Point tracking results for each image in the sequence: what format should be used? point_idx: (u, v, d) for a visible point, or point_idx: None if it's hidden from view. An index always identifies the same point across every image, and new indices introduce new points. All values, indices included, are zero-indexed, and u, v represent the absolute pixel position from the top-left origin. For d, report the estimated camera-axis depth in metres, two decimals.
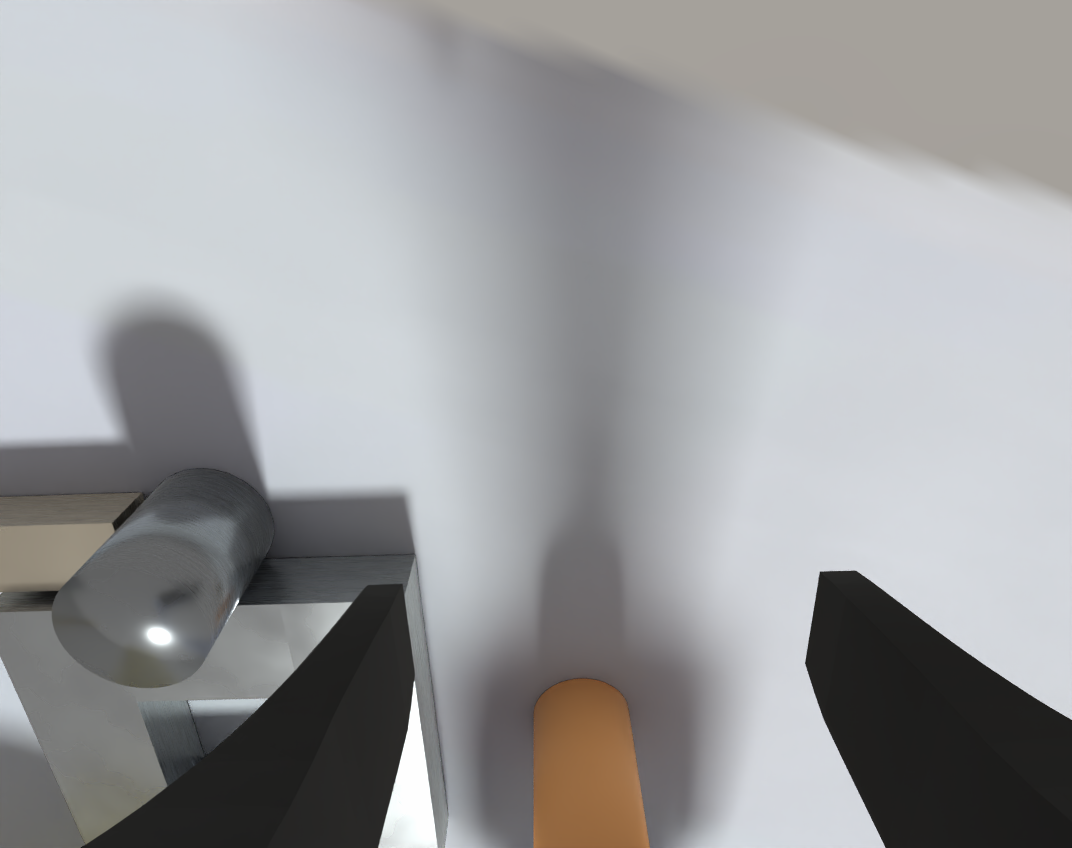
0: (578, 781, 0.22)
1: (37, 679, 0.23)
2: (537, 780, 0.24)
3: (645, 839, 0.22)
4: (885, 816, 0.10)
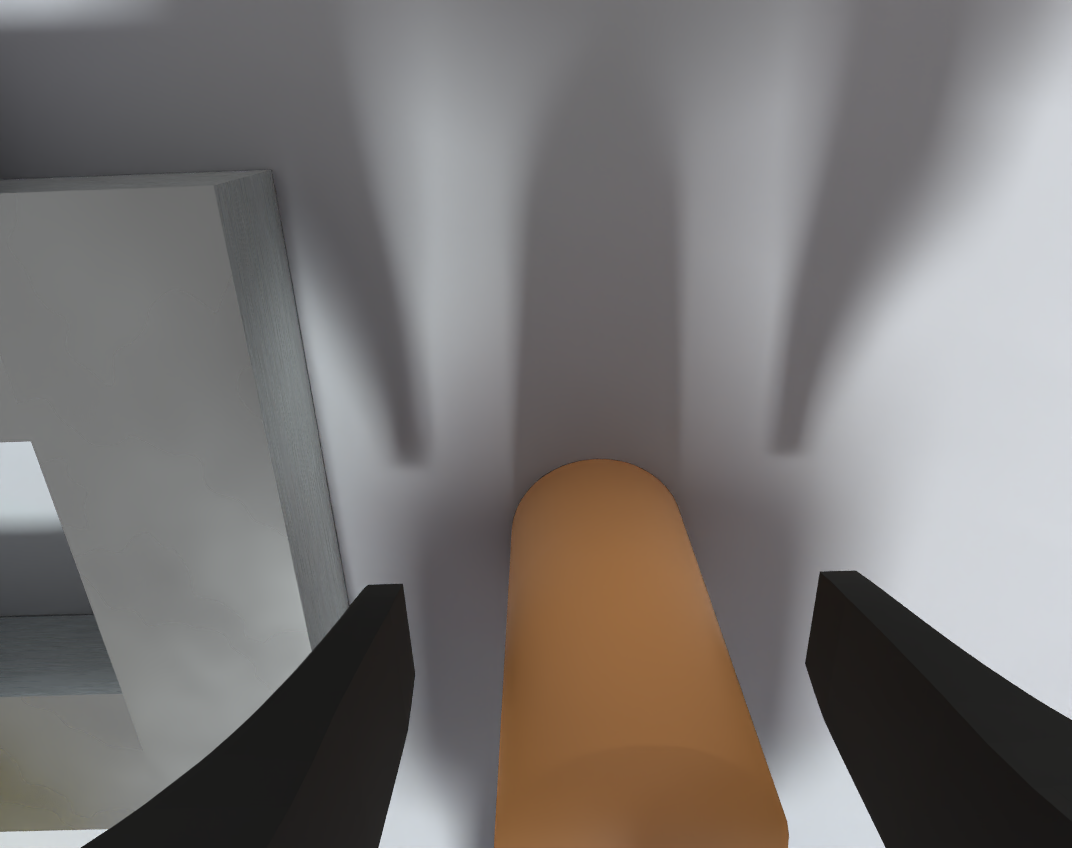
0: (597, 594, 0.11)
1: None
2: (512, 614, 0.12)
3: (747, 710, 0.10)
4: (885, 816, 0.10)
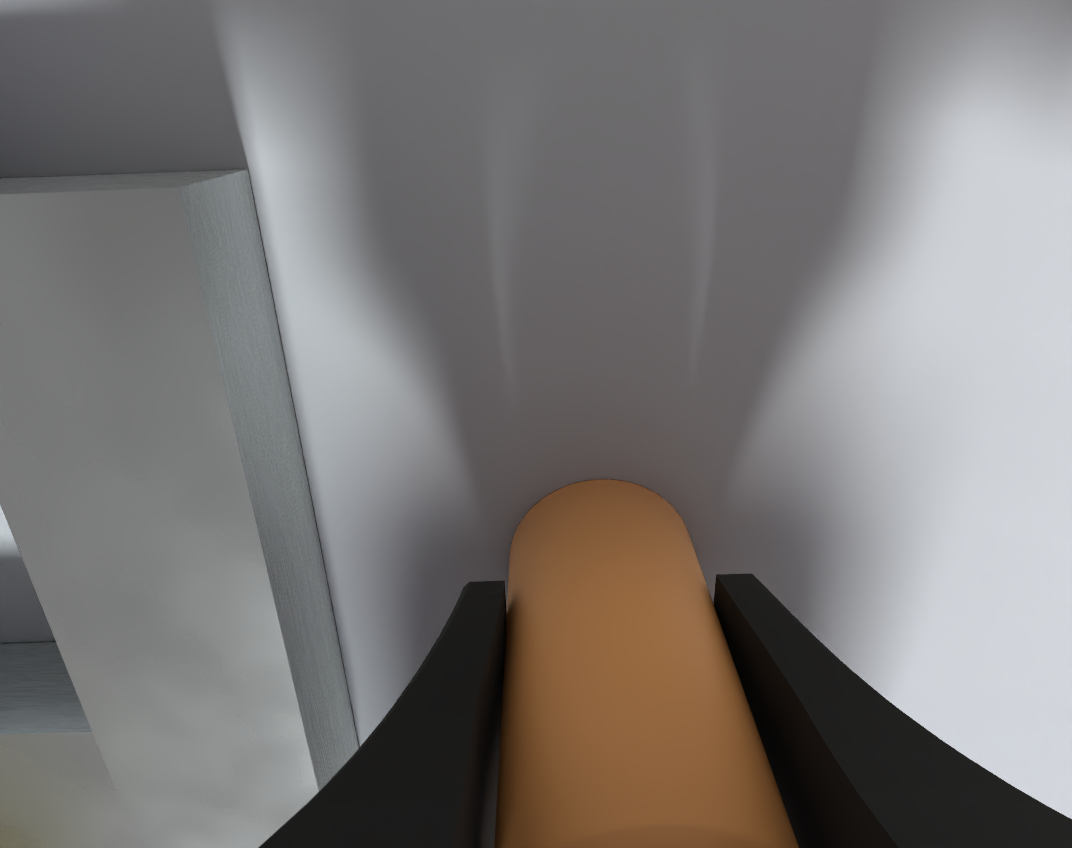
0: (603, 638, 0.10)
1: None
2: (510, 654, 0.11)
3: (770, 770, 0.09)
4: None
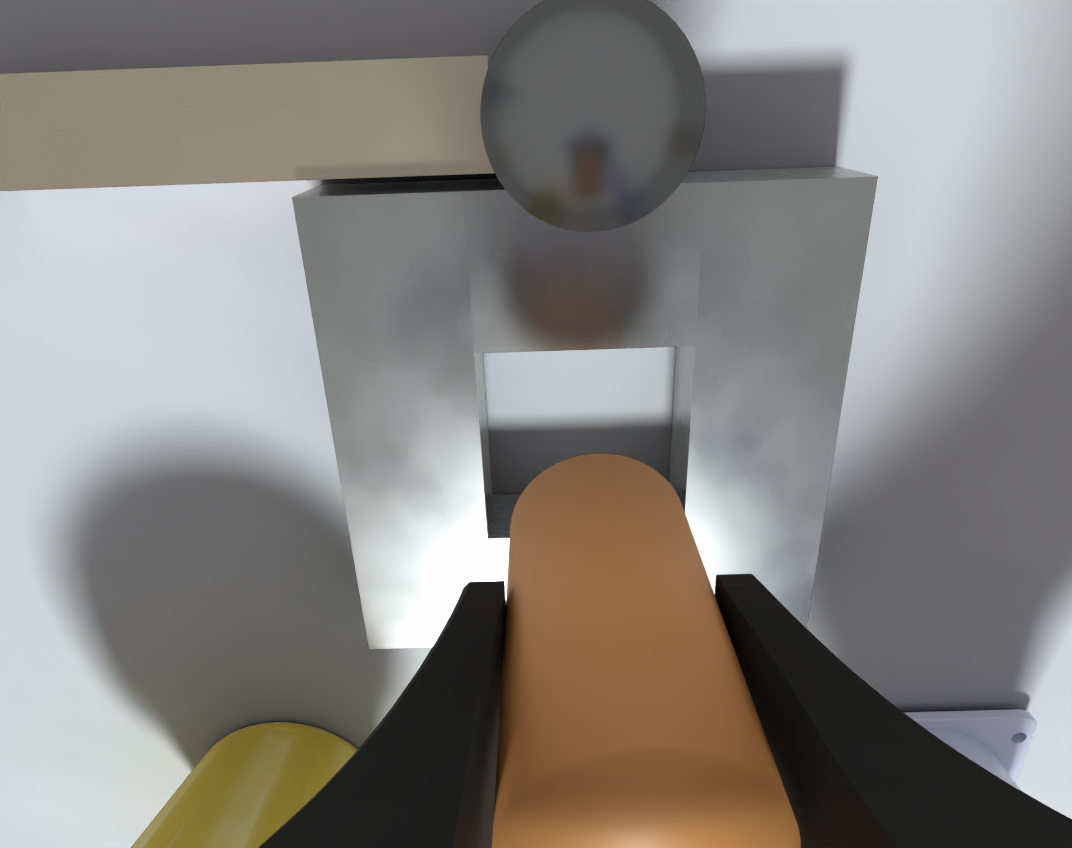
0: (596, 593, 0.10)
1: (348, 314, 0.17)
2: (510, 614, 0.11)
3: (755, 710, 0.09)
4: None
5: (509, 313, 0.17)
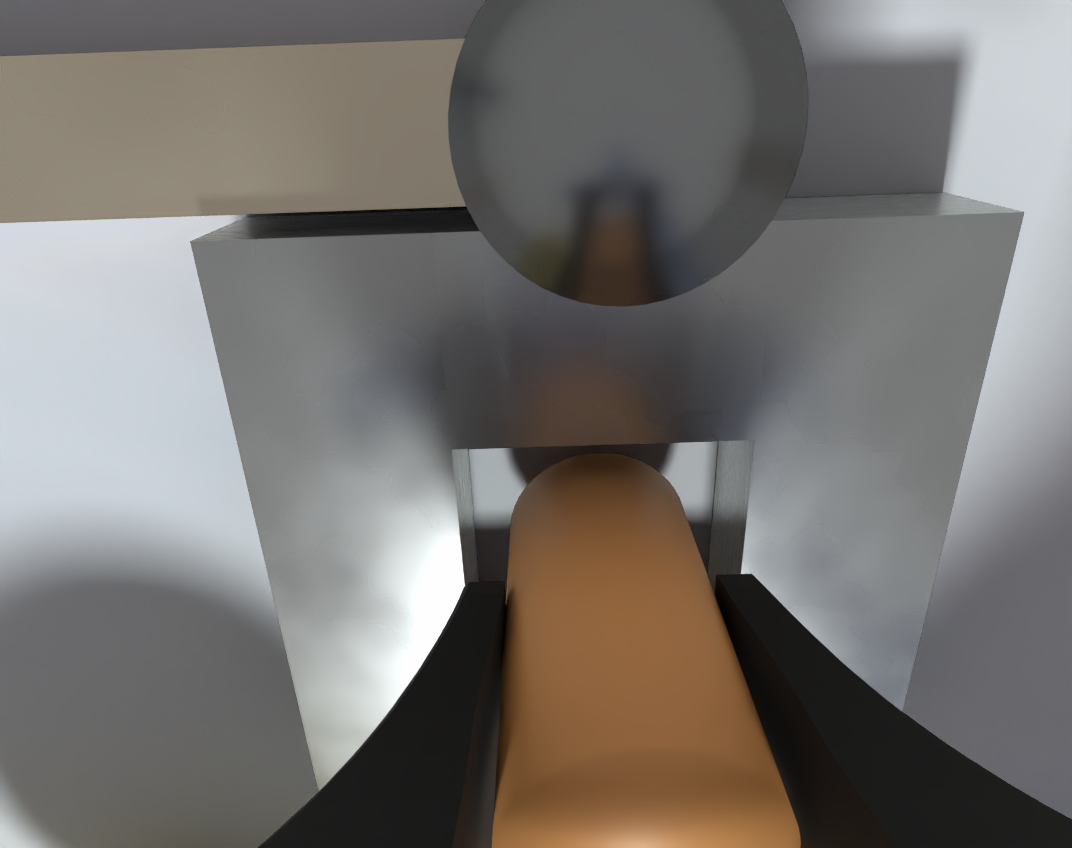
0: (596, 592, 0.10)
1: (277, 398, 0.12)
2: (510, 614, 0.11)
3: (755, 709, 0.09)
4: None
5: (499, 397, 0.12)
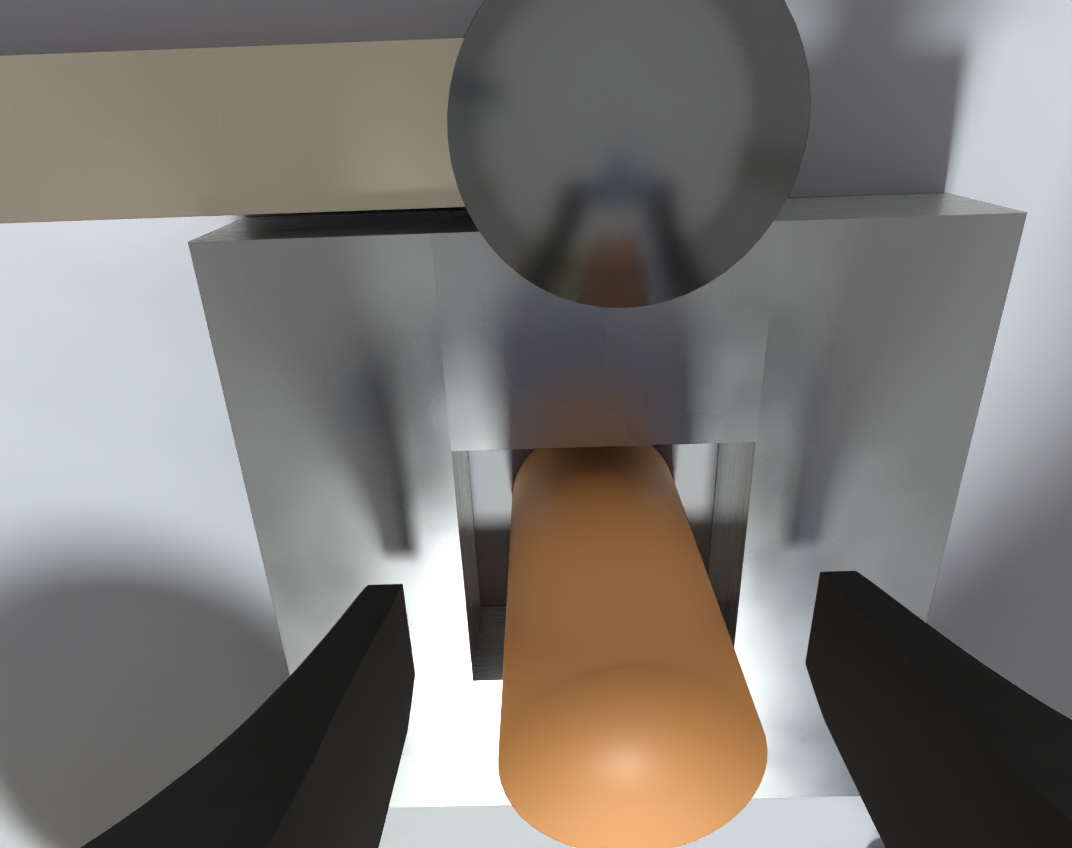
0: (591, 541, 0.11)
1: (275, 400, 0.12)
2: (513, 565, 0.13)
3: (730, 641, 0.11)
4: (885, 816, 0.10)
5: (498, 399, 0.12)
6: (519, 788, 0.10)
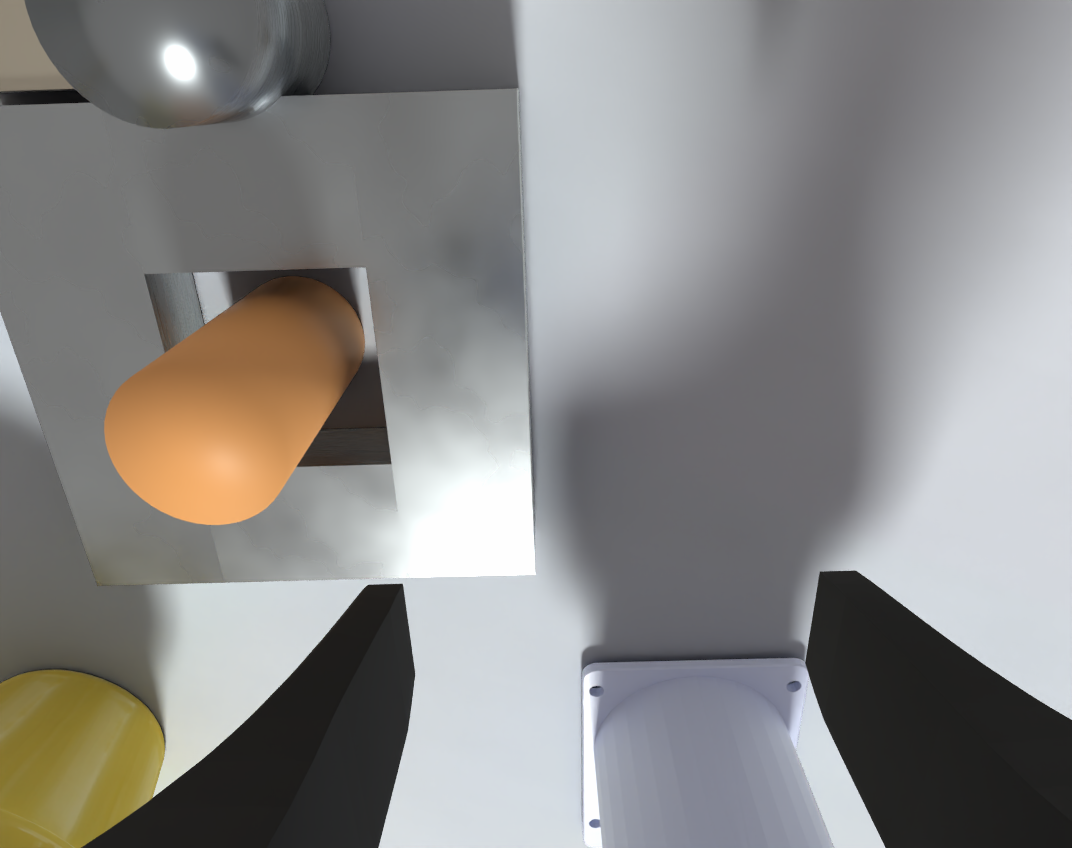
0: (215, 323, 0.16)
1: (8, 232, 0.17)
2: None
3: (292, 382, 0.15)
4: (885, 816, 0.10)
5: (171, 232, 0.17)
6: (126, 467, 0.14)
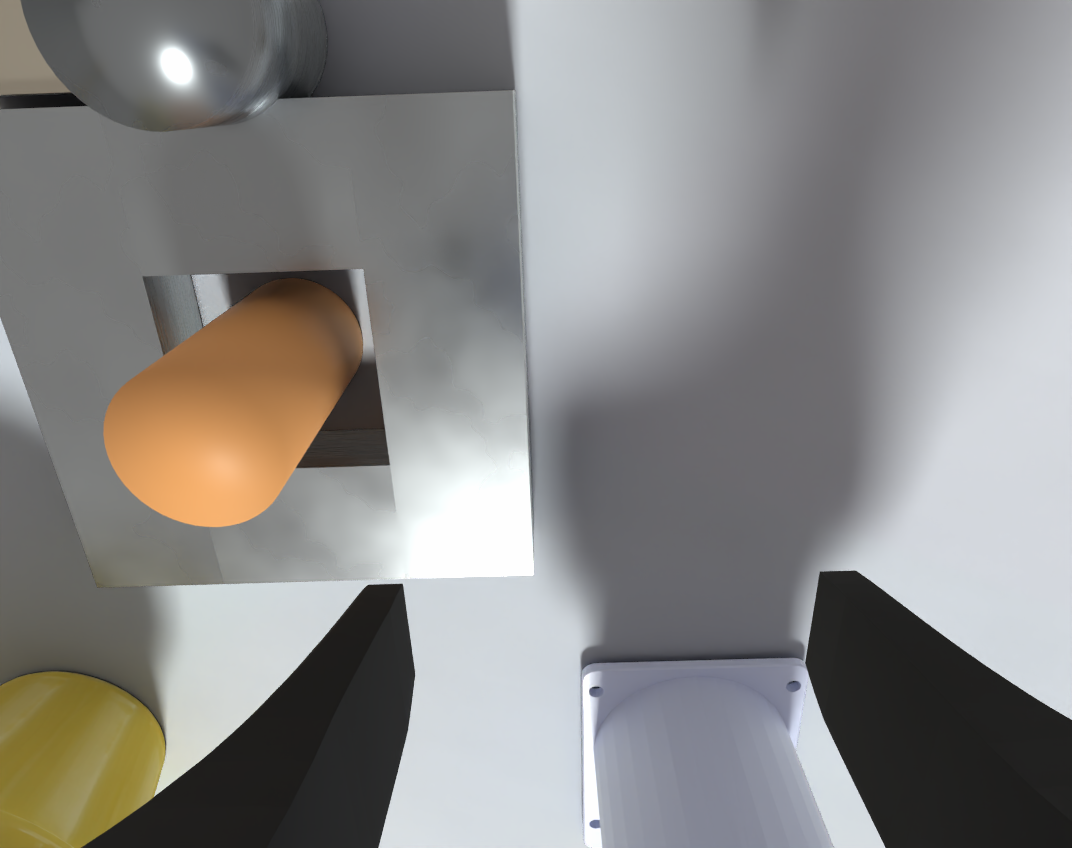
0: (214, 325, 0.16)
1: (7, 235, 0.17)
2: None
3: (290, 384, 0.15)
4: (885, 816, 0.10)
5: (169, 234, 0.17)
6: (125, 469, 0.14)
